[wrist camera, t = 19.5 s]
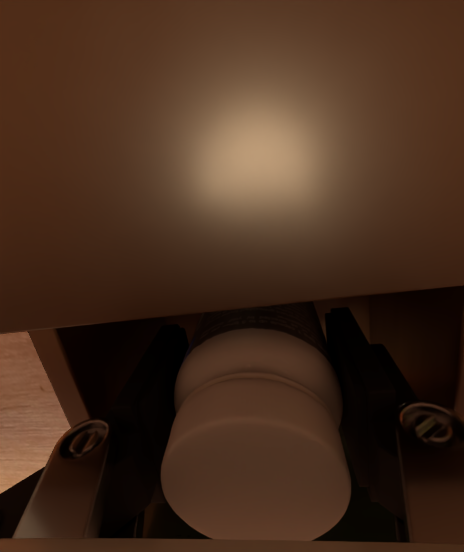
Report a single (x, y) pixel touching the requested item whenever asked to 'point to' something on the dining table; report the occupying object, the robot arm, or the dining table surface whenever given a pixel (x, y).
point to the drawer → (371, 319)
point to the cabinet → (225, 155)
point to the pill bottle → (258, 428)
